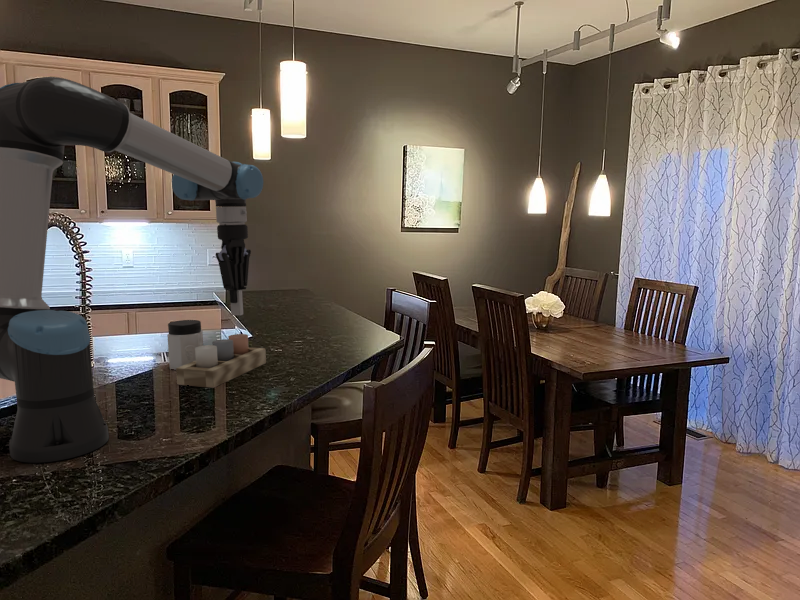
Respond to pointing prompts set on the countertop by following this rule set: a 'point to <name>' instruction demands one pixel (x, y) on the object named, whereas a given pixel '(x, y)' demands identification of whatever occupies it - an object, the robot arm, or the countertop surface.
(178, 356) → the jar
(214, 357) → the key ivory
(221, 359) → the grey cylinder
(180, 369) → the patterned wooden tray
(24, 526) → the countertop surface
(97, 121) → the robot arm
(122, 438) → the countertop surface
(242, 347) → the brown piece
